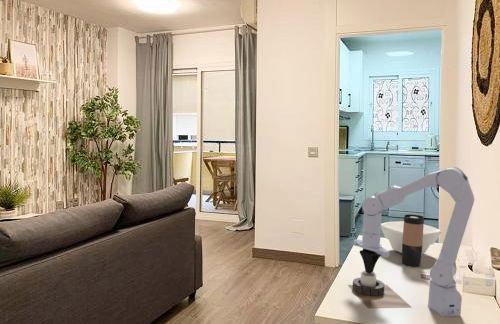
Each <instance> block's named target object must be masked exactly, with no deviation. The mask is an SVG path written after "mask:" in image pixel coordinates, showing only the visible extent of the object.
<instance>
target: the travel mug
mask: <svg viewBox="0 0 500 324" xmlns="http://www.w3.org/2000/svg"><path fill="white" fill-rule="evenodd" d="M403 221H404V227H403V240H402V253H401V264H402V265H403V266H405V267H409V268H419V267H420V266H421V261H422V243H423V227H424V225H425V223H424V222H425V218H424V216H422V215H418V214H404V217H403Z"/></svg>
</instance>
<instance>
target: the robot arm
mask: <svg viewBox="0 0 500 324" xmlns="http://www.w3.org/2000/svg"><path fill="white" fill-rule="evenodd" d="M439 187H440V188H441V189H442V190H444V191H445V192H447V193H448V194H449V196H450V197H451V198H452V199H453V201H454V202H455V204H454V207H453V211H452V212H451V216H450V219H449V223H448V226H447V229H446V233H445V236H444V239H443V243H442V246H441V248H440V253H439V255H438V257H437V259H436V260H435V263H434V264H433V266H432V267H431V268H430V271H429V275H430V278H429V285H428V286H429V288H428V300H427V301H428V303H427V306H428V308H429V309H431V310H433V311H435V312H436V313H437V314H438V315H440V316H441V317H457V316H458V317H461V315H462V302H463V301H462V299H463V298H462V297H463V296H462V295H461V293H460V292H459V291H458V289H457V282H456V280H455V278H454V276H455V274H456V273H457V269H458V268H457V263H456V261H457V258H458V254H459V251H460V248H461V245H462V242H463V238H464V235H465V231H466V229H467V225H468V222H469V220H470V216H471V213H472V209H473V206H474V203H475V195H474V193H473V190H472V188H471V184H470V181H469V177H468V176H467V175H466V174H465V173H464V171H463V170H462V169H460V168H459V167H457V166H450V167H447V168H445V169H440V170H437V171H434V172H430V173H428V174H425V175H424V176H422V177H420V178H418V179H416V180H413V181H411V182H409V183H407V184H405V185H403V186H398V185H389V186H387V187H386V189H385V190H382V191H380V192H374V193H373V195H372V196H368V197H366V198H365V199H364V200H363V202H362V204H361V207H362V210H363V219H362V220H363V221H362V240H361V239H353V246H354V247H359V248H362V249H361V250H359V254H360V256H361V258H362V262H363V265H364V271H366V272H367V273H372V272H374V269H375V268H376V267H375V266H376V264H377V262H378V260H379V259H380V257H381V256H382V258H385V259H386V258H389V257H390V250H387V248H384V247H383V246H382V244H381V234H382V229H381V224H382V211H383V210H387V209H390V208H392V207H395V206H397V205H399V204H402V203H403V202H405V198H406V196H410V195H411V194H415V193H416V192H420V191H421V190H424V189H427V188H434V189H438V188H439Z"/></svg>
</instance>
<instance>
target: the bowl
mask: <svg viewBox="0 0 500 324" xmlns="http://www.w3.org/2000/svg"><path fill="white" fill-rule="evenodd" d="M403 227H404V220H402V221H400V220H399V221H386V222H383V223H382V222H381V232H382V233H383V236H384V237H385V239H387V240H388V242H389V244H390V247H391V249H393V250H395V251H396V252H398V253H401V254H402V240H403ZM441 234H442V231H441V229H438V228H437V227H434V226H430V225H429V224H428V225H427V224H424V227H423V243H422V254H425V253H426V252H427V251H428V249H429V248H430V246H431V245H434V244H435V242H436V241H437V239H438V238H439V237H440V235H441ZM422 254H421V255H422Z"/></svg>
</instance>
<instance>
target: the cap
mask: <svg viewBox="0 0 500 324" xmlns="http://www.w3.org/2000/svg"><path fill="white" fill-rule="evenodd" d="M360 277H361V280H360V284H361V285H363V286H368V287H376V279H377V273H375V272H374V271H373V272H372V273H367V272H366V271H365V270H363V271H361V272H360Z"/></svg>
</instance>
